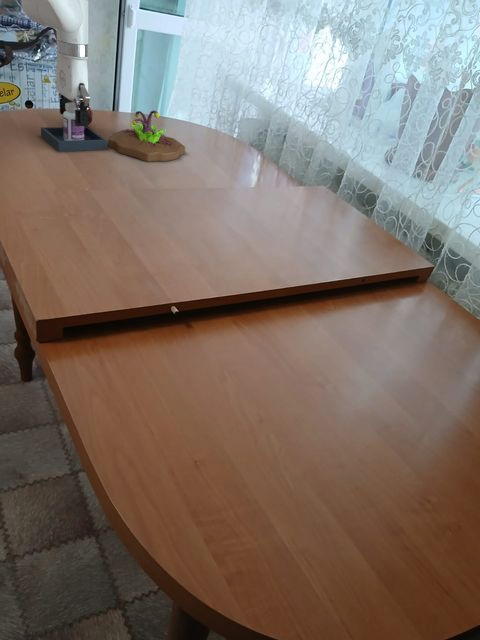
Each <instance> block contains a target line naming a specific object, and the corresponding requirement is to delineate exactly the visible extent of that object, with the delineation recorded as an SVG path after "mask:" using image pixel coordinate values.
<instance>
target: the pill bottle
mask: <svg viewBox="0 0 480 640" xmlns="http://www.w3.org/2000/svg"><path fill="white" fill-rule="evenodd" d="M79 105H80V104H79ZM65 109H66V110H67V111H65V112H64V113H63V115H62V125H63V126H62V127H63V129H64V140H65V141H74V140H84V126H76V125H75V110H77V108H76V105H75V103H66V104H65Z"/></svg>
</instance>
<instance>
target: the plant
mask: <svg viewBox="0 0 480 640" xmlns="http://www.w3.org/2000/svg"><path fill="white" fill-rule="evenodd" d="M140 115H141V117H142V118H139V117H140ZM153 115H154V118H156V119H160V112H158V111H157V110H151V111H150V112H149V114H148V116H147V117H146V116H145V114H144V113H143V112H142V111H140V110H137V111H136V112H135V113H134V116H135V117H136V118H135V119H133V120H132V123H130V126H131V127H132V129H130V128H127V129H122V130H120V131H118V132H114V133H111V134H110V135H109V136H108V142H107V143H108V145H107V148H111V149H114V150H116V152H117V153H118V154H122V155H125V156H128V157H132V158H135V159H138V160H142V161H144V162H170V161H173V160H177V159H179V157H180V156H182V155H185V154H186V146H185V145H183V144H182V143H181V142H180V141H178V140H177V139H175V138H174V137H170V136H166V135H165V134H163V133H164V132H166V131H167V129H165V128H161V129H159V130H157V126H156V125H155V124H153V125H152V116H153ZM140 122H141V123H140ZM156 130H157V131H156Z"/></svg>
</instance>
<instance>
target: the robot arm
mask: <svg viewBox="0 0 480 640" xmlns="http://www.w3.org/2000/svg"><path fill="white" fill-rule="evenodd" d="M20 4H21V8H22V11H23V13H24V15H26V17H27V18H28V19H29V20H30V21H32V22H34V23H36V24H39V25H40V26H41V25H42V26H44V27H47V28H51V29H54V30H56V63H55V64H56V65H55V67H56V68H55V88H56V91H57V92H58V98H59V114H60V115H62V116H63V113H64V112H65V111H67V110H66V109H65V104H66V103H72V100H74V101H75V105H76V108H77V110H75V125H76V126H87V125H88V107H90V100H91V96H90V94H89V70H88V59H89V0H20ZM79 102H81V103H80V105H79ZM88 126H89V125H88ZM88 126H87V127H88Z"/></svg>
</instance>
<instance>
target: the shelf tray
mask: <svg viewBox="0 0 480 640" xmlns="http://www.w3.org/2000/svg"><path fill="white" fill-rule="evenodd" d="M40 138H41V139H43V140H44V141H45V142H46V143H48V144H49V145H50V146H51V147H52V148H54V149H55V150H56V151H57V152H58V153H61V152H64V153H66V152H84V151H88V152H89V151H106V150H107V148H108V145H107V143H108V142H107V141H108V140H107V139H105V137H103V136H102V135H100V134H99V133H98V132H96V131H95V130H94V129H92V128H91V127H90V126H87V127H84V140H74V141H65V140H64V129H63V126H40Z"/></svg>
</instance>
